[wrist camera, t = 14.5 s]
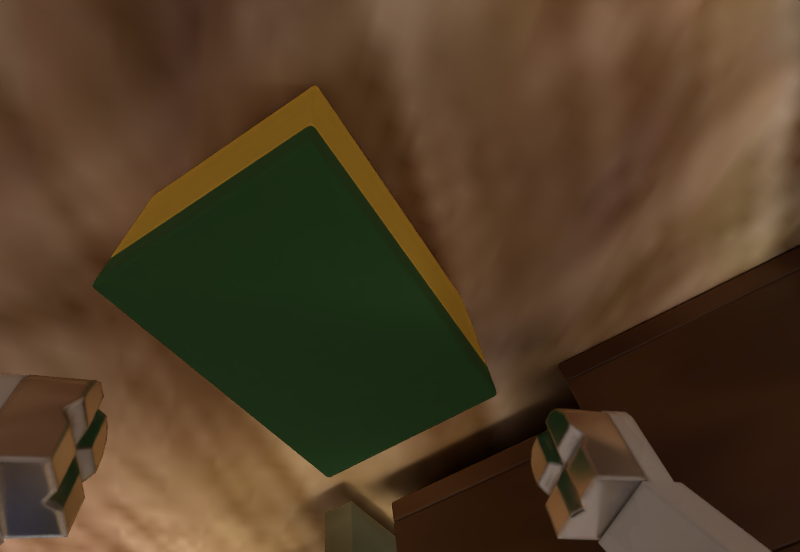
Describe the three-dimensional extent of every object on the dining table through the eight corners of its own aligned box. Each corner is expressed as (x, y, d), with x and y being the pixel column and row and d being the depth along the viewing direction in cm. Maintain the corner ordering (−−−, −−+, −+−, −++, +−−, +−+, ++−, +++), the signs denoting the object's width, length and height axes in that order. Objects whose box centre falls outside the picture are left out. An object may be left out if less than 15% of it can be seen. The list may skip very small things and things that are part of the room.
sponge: (151, 196, 13) (88, 286, 9) (316, 82, 12) (310, 139, 8) (328, 371, 17) (328, 479, 13) (463, 298, 16) (498, 396, 12)
